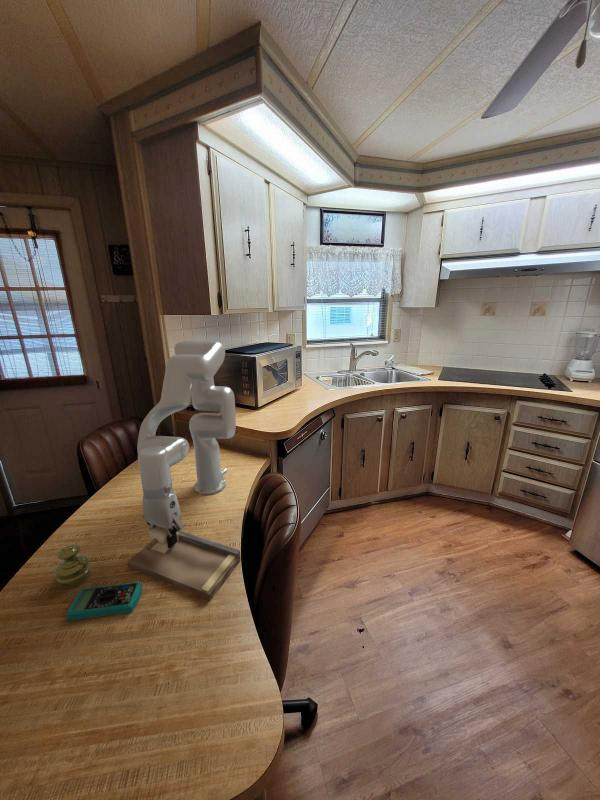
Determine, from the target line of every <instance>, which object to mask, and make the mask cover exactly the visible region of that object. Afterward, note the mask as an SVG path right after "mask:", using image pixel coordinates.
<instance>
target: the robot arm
mask: <svg viewBox="0 0 600 800" xmlns="http://www.w3.org/2000/svg"><path fill="white" fill-rule="evenodd" d="M173 349H174V350H173V351H174V355H172V356H170V357H169V358H168V360H167V361H166V365H165V372H164V378H163V381H162V383H163V384H162V388H161V389H162V390H161V396H160V400H159V402H158V403H157V404H156V405H155V406H154V407H153V408H151V410H150V411H149V412H148V414H147V415H146V416H145V417H144V419H143V421H142V423H141V425H140V427H139V432H138V438H137V444H136V445H137V446H136V447H137V448H136V449H137V461H138V467H139V472H140V480H141V487H142V511H143V514H142V515H141V517H142V519H143V520H144V521H145V523H146V524H147V525H148V527H149V528H148V529H149V531H150V530H152V529H153V528H154V527H155V526H159V527H162V528H165V529H166V532H167V534H168V536H167V544H168V548H171V547H172V546H173V545H174V544H175V543H177V534H176V532H178V531H182V529H183V528H184V526H185V525H184V524H183V523H182V522H181V520H182V512H181V508H180V503H179V499H178V497H177V494H176V492H175V491H174V490H175V489H173V483H172V475H171V467H172V466H174V465H176V464H178V463H181V462H182V461H183V460H184V459H185V458H186V457H187V455H189V451H190V443H189V442H188V440H187V439H186V438H184V437H180V436H166V435H156V434H157V433H156V432H157V429H158V427H159V425H160V424H161V422H163V420H165V419H166V418H167V417H169V416H170V415H172V414H175V413H177V412H179V411H182V410H185V409H187V408H188V407H189V406H190V403H191V404H192V406H193V408H194V409H195V410H198V411H207V412H206V413H205V412H199V413H196V414H194V415H192V416H191V418H190V420H189V423H188V425H189V426H188V427H189V432H190V435H191V439H192V441H193V442H192V443H193V449H194V451H193V452H194V458H195V459H194V460H195V461H194V462H195V471H196V479H197V480H196V482H195V483H194V484H193V490H194V492H196V493H197V494H199V495H203V496H204V495H205V496H207V495H214V494H216V493H219V492H221V491H222V490H223V489H225V487H226V479H225V478H223V477H224V475H225V474H227V472H228V469H227V468H223V469H221V467H222V466H221V454H220V445H219V442H218V440H217V439H231V438H233V437H234V436H235V433H236V429H237V428H236V426H237V421H236V418H237V417H236V401H235V400H236V399H235V393H234V391H233V389H231V387H229V386H225V385H223V386H220V385H219V386H217V385H215V379H214V378H215V377H214V376H215V375H216V374H217V372H218V371H219V369H220V368H221V366H222V365H223V363H224V361H225V357H226V349H225V347H224V345H223V344H222V343H221V342H220V341H217V340H180V341H178V342H176V343H175V345H174V348H173ZM209 412H219V413H209ZM171 528H173V530H172V531H171V530H170V529H171Z"/></svg>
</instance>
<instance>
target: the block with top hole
mask: <svg viewBox="0 0 600 800" xmlns="http://www.w3.org/2000/svg"><path fill="white" fill-rule="evenodd" d="M170 530H171V531H172V530H173V528H171V529H170ZM176 534H177V542H178V541H179V533H178V532H176ZM148 535H149V543H147V545H145V546H146V548H147V549H148V550H149V553H151V549H153V550H156V551H158V552H161V553H164V554H165V553H166V552H167V551H168V550H169V549H170V548H168V544H167V536H168V534H167V532H166V529H165V528H162V527H159V526H155V527H154V528H153V529H152V530H150V529H149V531H148ZM175 544H176V543H175Z"/></svg>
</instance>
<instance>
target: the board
mask: <svg viewBox="0 0 600 800" xmlns="http://www.w3.org/2000/svg"><path fill="white" fill-rule="evenodd" d="M178 533H179V541H178V542H177V543H176V544H174V545H173V546H172V547H171V548H170V549H169V550H168V551H167V552H166V553H165V554H164V553H161V552H158V551H156V550H153V549H151V553H149V550H148V549H147V548H146V545H145V546H144V547H142V548H141V549H140V550H139V551H138V552H137V553H135V554H134V555H133V556H132V557H130V559H128V560H127V562H126V563H127V568H129V569H132V570H133V571H136V572H139V573H142V574H144V575H146V576H149V577H151V578H153V579H156V580H158V581H161V582H164V583H166V584H168V585H171V586H173V587H175V588H178V589H180V590H183V591H185V592H188V593H190V594H193V595H195V596H198V597H200V598H202V599H205V600H207V601H211V600H212V599H213V598H214V597H215V595H216V594H217V592H218V591H219V590H220V588H221V587H222V586H223V584H224V583H225V582H226V581H227V579H228V578H229V577H230V575H231V574H232V573H233V571H234V570H235V568H236V567H237V566H238V565H239V563H240V562H241V558H242V557H241V550H240V549H237V548H234V547H232V546H228V545H225V544H222V543H218V542H216V541H212V540H210V539H206V538H204V537H202V536H201V537H200V536H197V535H194V534H191V533H187V532H185V531H182V530H179V531H178Z"/></svg>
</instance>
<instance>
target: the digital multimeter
mask: <svg viewBox="0 0 600 800" xmlns="http://www.w3.org/2000/svg"><path fill="white" fill-rule="evenodd" d="M142 586H143V585H142V582H141V581H136V582H129V583H128V582H127V583H122V584H114V585H105V586H96V587H94V586H93V587H86V588H85V587H84V588H82V589H81V590H79V592H78V593H77V594H76V596H75V598H74V600H73V601H72V603H71V605H69V608H68V610H67V612H66V615H65V616H66V619H67V622H72V621H78V620H84V619H88V618H89V619H90V618H96V617H97V618H98V617H105V616H112V615H113V616H114V615H122V614H123V615H124V614H131V613H133V612H134V609H135V608H136V607H137V605H138V603H139V602H140V599H141V595H142V589H143V587H142Z"/></svg>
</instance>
